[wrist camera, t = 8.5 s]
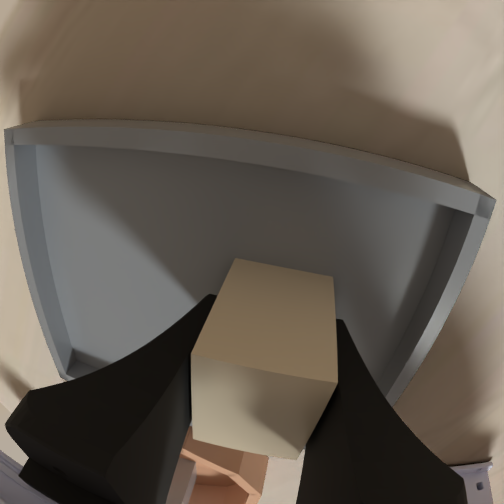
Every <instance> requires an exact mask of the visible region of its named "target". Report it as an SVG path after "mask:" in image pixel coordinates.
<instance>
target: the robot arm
mask: <svg viewBox="0 0 504 504" xmlns="http://www.w3.org/2000/svg"><path fill="white" fill-rule="evenodd" d="M217 296H218V295H213V294H208V295H206V296H205V297H204V298H203V299H202V300H201V301H200V302H199V303H198V304H197V305H195V306H194V307H193V308H192V309H191V310H190V311H189V312H188V313H186V314H185V315H184V316H183V317H182V318H180V319H179V320H178V321H177V322H175V323H174V324H173V325H172V326H171V327H169V328H168V329H167V330H165V331H164V332H163V333H161V334H160V335H158V336H157V337H156V338H154V339H153V340H151V341H150V342H148V343H147V344H145V345H144V346H142V347H141V348H139V349H137V350H136V351H134V352H132V353H131V354H129V355H127V356H125V357H124V358H122V359H120V360H118V361H116V362H114V363H112V364H110V365H108V366H106V367H103V368H101V369H99V370H97V371H95V372H92V373H89V374H87V375H84V376H81V377H79V378H76V379H73V380H70V381H67V382H63V383H60V384H56V385H52V386H48V387H44V388H40V389H35V390H30V391H29V392H28V393H27V394H26V396H25V397H24V398H23V399H22V400H21V402H20V403H19V405H18V406H17V407H16V409H15V410H14V412H13V413H12V414H11V416H10V417H9V419H8V420H7V422H6V423H5V426H6V430H7V432H8V433H9V435H10V436H11V437H12V439H13V440H14V441H15V442H16V443H17V445H18V446H19V447H20V448H21V449H22V450H23V451H24V453H25V454H26V455H27V456H28V457H29V459H28V460H27V462H26V464H25V465H24V467H23V466H22V465H20V464H19V463H17V462H16V461H14V460H13V459H12V458H10V457H9V456H7V455H6V454H5V453H3V452H2V451H1V450H0V504H166V500H167V496H168V493H169V489H170V486H171V483H172V479H173V476H174V472H175V469H176V466H177V463H178V459H179V456H180V453H181V450H182V447H183V444H184V441H185V437H186V434H187V431H188V428H189V426H190V423H191V421H192V395H191V353H192V350H193V348H194V346H195V344H196V342H197V339H198V337H199V335H200V333H201V331H202V328H203V326H204V324H205V322H206V320H207V318H208V315H209V313H210V311H211V309H212V307H213V305H214V302H215V300H216V298H217ZM336 335H337V365H338V384H337V386H336V388H335V390H334V392H333V394H332V396H331V398H330V400H329V402H328V404H327V406H326V408H325V409H324V411H323V413H322V415H321V417H320V419H319V421H318V423H317V425H316V426H315V428H314V430H313V432H312V434H311V436H310V437H309V439H308V441H307V443H306V447H305V456H304V462H303V469H302V475H301V480H300V486H299V491H298V496H297V501H296V504H493V499H492V493H491V487H490V482H489V477H488V472H487V471H488V470H489V469H490V468H492V466H493V463H492V462H485V463H478V464H471V465H463V466H454V467H449V466H447V465H446V464H445V463H444V462H442V461H441V460H440V459H439V458H438V457H437V456H436V455H434V454H433V453H432V452H431V451H430V450H429V449H428V448H427V447H426V446H425V445H424V444H423V443H422V442H421V441H420V440H419V439H418V438H417V437H416V436H415V435H414V433H413V432H412V431H411V430H410V429H409V428H408V427H407V425H406V424H405V423H404V422H403V421H402V420H401V418H400V417H399V416H398V415H397V413H396V412H395V411H394V409H393V408H392V407H391V405H390V404H389V402H388V401H387V400H386V398H385V397H384V395H383V394H382V392H381V391H380V389H379V387H378V386H377V384H376V382H375V381H374V379H373V377H372V376H371V374H370V372H369V370H368V369H367V367H366V365H365V363H364V361H363V359H362V357H361V355H360V354H359V352H358V350H357V348H356V345H355V343H354V341H353V339H352V337H351V335H350V333H349V331H348V329H347V326H346V324H345V322H344V321H343V320H341V319H336Z"/></svg>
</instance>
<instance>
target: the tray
mask: <svg viewBox="0 0 504 504" xmlns="http://www.w3.org/2000/svg"><path fill="white" fill-rule="evenodd" d="M4 137H5V154H6V167H7V177H8V186H9V194H10V201H11V208H12V214H13V220H14V226H15V231H16V236H17V241H18V246H19V251H20V255H21V259H22V264H23V268H24V272H25V276H26V279H27V283H28V287H29V290H30V294H31V297H32V301H33V304H34V307H35V310H36V313H37V317H38V320H39V323H40V325H41V328H42V331H43V334H44V337H45V340H46V342H47V345H48V348H49V350H50V353H51V355H52V358H53V360H54V363H55V365H56V368H57V370H58V372H59V375H60V377H61V378H63V379H65V380H67V381H70V380H73V379H76V378H79V377H81V376H84V375H87V374H89V373H92V372H95V371H97V370H99V369H101V368H103V367H106V366H108V365H110V364H112V363H114V362H116V361H118V360H120V359H122V358H124V357H125V356H127V355H129V354H131V353H132V352H134V351H136V350H137V349H139V348H141V347H142V346H144V345H145V344H147V343H148V342H150V341H151V340H153V339H154V338H156V337H157V336H158V335H160V334H161V333H163V332H164V331H165V330H167V329H168V328H169V327H171V326H172V325H173V324H174V323H175V322H177V321H178V320H179V319H180V318H182V317H183V316H184V315H185V314H186V313H188V312H189V311H190V310H191V309H192V308H193V307H194V306H195V305H197V304H198V303H199V302H200V301H201V300H202V299H203V298H204V297H205V296H206V295H208V294H213V295H218V294H219V292H220V290H221V287H222V285H223V283H224V281H225V279H226V277H227V274H228V272H229V270H230V268H231V266H232V264H233V262H234V259H235V258H238V259H243V260H248V261H253V262H259V263H264V264H269V265H274V266H279V267H284V268H289V269H295V270H300V271H305V272H310V273H315V274H321V275H326V276H331V277H333V282H334V297H335V314H336V319H341V320H343V321H344V322H345V324H346V326H347V329H348V331H349V333H350V335H351V337H352V339H353V341H354V343H355V345H356V348H357V350H358V352H359V354H360V355H361V357H362V359H363V361H364V363H365V365H366V367H367V369H368V370H369V372H370V374H371V376H372V377H373V379H374V381H375V382H376V384H377V386H378V387H379V389H380V391H381V392H382V394H383V395H384V397H385V398H386V400H387V401H388V402H389V404H390V405H391V407H393V406H394V404H395V403H396V402H397V400H398V399H399V397H400V396H401V394H402V393H403V391H404V390H405V388H406V387H407V385H408V384H409V382H410V381H411V379H412V378H413V376H414V375H415V373H416V372H417V370H418V368H419V367H420V365H421V363H422V362H423V360H424V359H425V357H426V355H427V354H428V352H429V350H430V348H431V347H432V345H433V343H434V341H435V340H436V338H437V336H438V334H439V333H440V331H441V329H442V327H443V325H444V323H445V321H446V319H447V318H448V316H449V314H450V312H451V310H452V308H453V306H454V304H455V302H456V300H457V298H458V296H459V294H460V291H461V289H462V287H463V285H464V283H465V281H466V278H467V276H468V274H469V272H470V269H471V267H472V265H473V262H474V260H475V257H476V255H477V253H478V250H479V248H480V245H481V242H482V240H483V237H484V235H485V232H486V229H487V226H488V224H489V221H490V218H491V215H492V212H493V209H494V206H495V203H496V199H494V198H493V197H491V196H490V195H489V194H487V193H486V192H484V191H483V190H481V189H480V188H478V187H477V186H475V185H474V184H472V183H471V182H468V181H466V180H463V179H460V178H457V177H454V176H451V175H447V174H444V173H441V172H438V171H435V170H431V169H428V168H425V167H421V166H418V165H414V164H411V163H407V162H404V161H400V160H396V159H393V158H389V157H385V156H381V155H377V154H373V153H369V152H365V151H360V150H356V149H352V148H347V147H343V146H338V145H333V144H328V143H323V142H318V141H313V140H308V139H303V138H297V137H291V136H285V135H279V134H273V133H266V132H260V131H253V130H245V129H238V128H229V127H221V126H212V125H202V124H191V123H178V122H164V121H146V120H118V119H70V120H43V121H34V122H30V123H26V124H22V125H18V126H14V127H11V128H7V129H4ZM190 426H192V421H191V423H190ZM305 447H306V444H305V446H304V448H303V449H305Z"/></svg>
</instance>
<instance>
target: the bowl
mask: <svg viewBox="0 0 504 504" xmlns="http://www.w3.org/2000/svg"><path fill="white" fill-rule="evenodd" d="M179 457H180V458H184V459H187V460H191V461H194V462H196V471H197V478H196V481H195V485H194V488H193V491H192V494H191V497H190V500H189V503H188V504H257V503H258V501H259V499H260V497H261V496H262V491H263V486H264V480H265V475H266V470H267V464H268V459H269V458H268V457H267V456H266V455H261V454H256V453H250V452H245V451H241V450H236V449H231V448H227V447H223V446H218V445H214V444H210V443H206V442H203V441H199V440H195V439H193V428H192V426H189V428H188V431H187V434H186V437H185V441H184V444H183V447H182V450H181V453H180V456H179Z"/></svg>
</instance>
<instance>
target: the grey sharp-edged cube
mask: <svg viewBox="0 0 504 504" xmlns="http://www.w3.org/2000/svg"><path fill="white" fill-rule="evenodd" d="M196 478H197V471H196V462H194V461H191V460H187V459H184V458H180V457H179V459H178V463H177V466H176V469H175V472H174V476H173V479H172V483H171V486H170V489H169V493H168V496H167V500H166V504H188V503H189V500H190V497H191V494H192V491H193V488H194V485H195V481H196Z"/></svg>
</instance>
